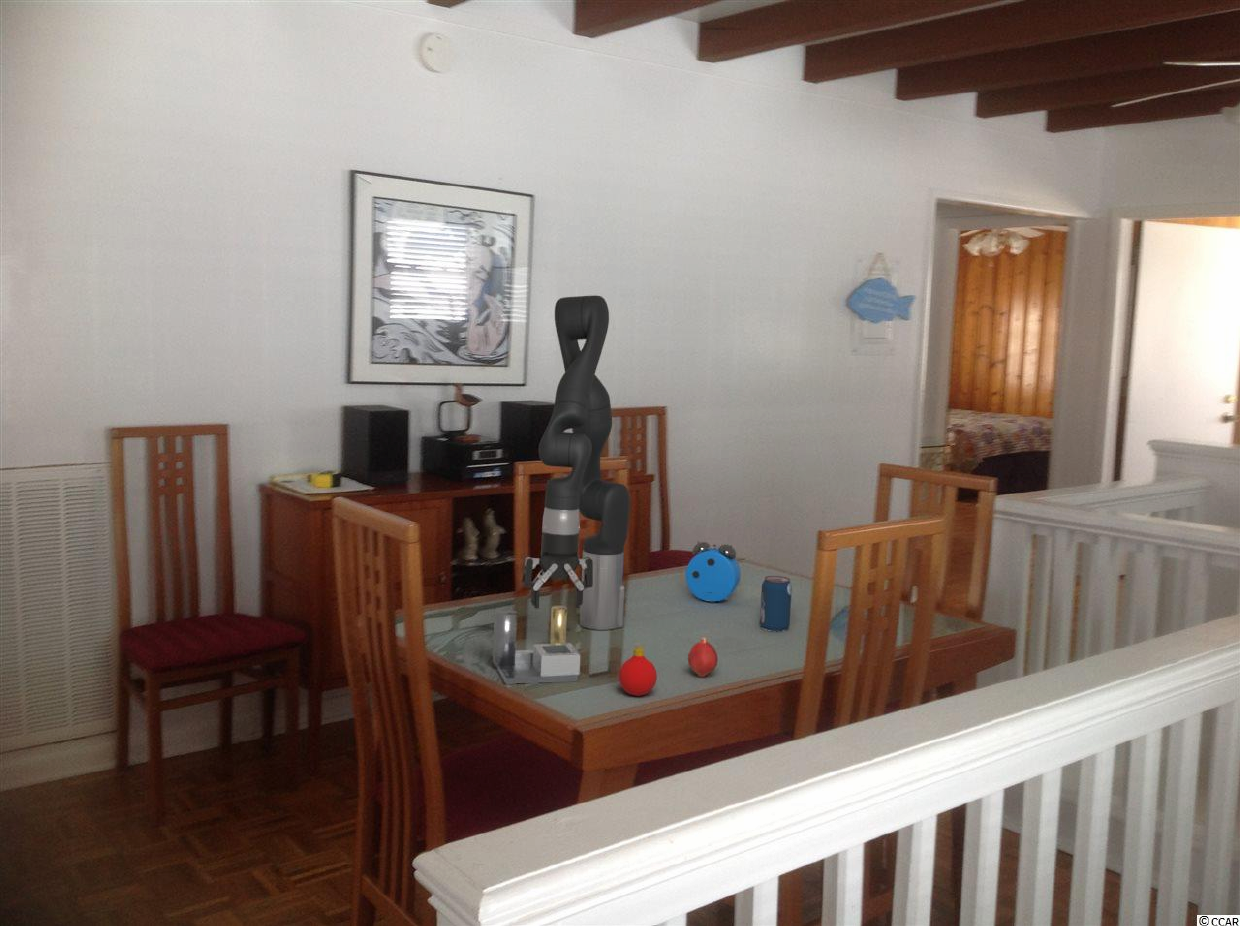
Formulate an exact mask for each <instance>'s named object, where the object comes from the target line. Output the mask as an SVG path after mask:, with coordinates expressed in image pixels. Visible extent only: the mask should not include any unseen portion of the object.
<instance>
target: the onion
mask: <svg viewBox="0 0 1240 926" xmlns="http://www.w3.org/2000/svg"><path fill="white" fill-rule="evenodd" d="M687 661H688V662H687V663H688V665H689V667H690V669H691V670H692V671H693V672H694V673H695V674H696V675H697V676H699V678H705V677H706V676H707V675H709V674H710V673H712V672H713V671H714V670H715V668H716V667H717V665H718V661H719V660H718V654H717V650H715V647H714V646H713V645H712V644H711V643H709V642H708V640H707V638H705V637H702V638H701V639H700V641H699V642H697V643H695V644H694V645H693V646H692V647H691V648H690V649H689V652H688V655H687Z"/></svg>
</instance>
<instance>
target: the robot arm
mask: <svg viewBox="0 0 1240 926" xmlns="http://www.w3.org/2000/svg"><path fill="white" fill-rule="evenodd" d="M609 311H610V309H609V307H608V303H607V301H606V300H605V298H604V297H603V296H601V295H582V296H565V297H561V298H559V299H558V300H557V301H556V303H555V306H554V322H555V323H554V324H555V328H556V329H555V330H556V334H557V339H558V344H559V349H560V353H561V358H562V363H563V367H564V368H563V369H564V373H563V374H562V376H561V378H560V379H559V382H558V385H557V387H556V393H555V399H554V405H553V412H552V415H551V417H550V420H549V422H548V425H547V426H546V429H545V431H544V433H543V434H542V437H541V439H540V442H539V444H538V455H539V459H540V461H541V462H542V463H543V464H544V465H545V466H549V467H561V468H572V469H571V472H570V473H569V475H566V476H562V477H561V476H560V477H554V478H550V479H548V480H547V482H546V485H545V497H544V511H543V516H542V527H541V528H542V529H541V530H542V531H541V546H540V547H541V548H540V556H539V557H537V558H535V557H530V556H526V557H524V566H523V573H522V584H523V586H524V587H525V588H528V589H530V604H531V606H533V608H534V609H540V590H539V589H540V588H541V587H542V586H543V585H544V583H546V582H547V580H548V579H551V580H558V579H560V580H567V579H568V578H569V580H571V581H572V583H573V584H574V587H575V588H574V595H573V596H574V597H573V606H574V608H575V609H580V613H579V625H580V626H581V627H583V628H585V629H589V630H598V631H599V630H600V631H605V630H606V631H607V630H613V629H614V630H615V629H618V628H623V627H624V626H623V625H624V623H623V622H624V606H625V585H623V571H624V569H623V568H624V567H623V566H624V550H625V549H624V548H625V544H626V541H627V538H628V531H629V521H630V520H629V519H630V511H631V496H630V493H629V490H628V488H627V486H626V485H625V484H623V483H619V482H615V481H609V480H608V481H607V480H603V476H602V470H601V456H602V453H603V449H604V447H605V445H606V443H607V441H608V440H609V436H610V434H611V431H612V428H613V413H612V406H611V398H610V394H609V393H608V390H607V389H606V387H605V386H604V385H603V383H602V382H601V380H600V379H599V378H598V377H597V375H596V370H597V367H598V364H599V362H600V358H601V354H602V353H603V348H604V345H605V341H606V338H607V336H608V330H609V326H610V325H609V323H610V312H609ZM579 340H581V341H582V340H585V342H584V344H583V347H582V349H581V348H580V345H579ZM567 430H572V432H565V431H567ZM580 513H581V515H582V516H583V517H584V519H585V518H586V519H588V520H592V521H597V522H600V526H599V527H600V528H599V531H598V532H597V533H596V534H592V535H589V536H586V537H585V538H584V540H583V543H582V544H583V545H582V558H579V539H580V538H579V537H580V535H579V534H580V529H581V525H580V523H581V522H580V521H581V519H580ZM537 565H539V566H540V568H541V570H540V571H539V572H538V574H537V575H536V576H535V578H534V579H533V581H532V576H533V575H532V574H533V569H536V566H537ZM579 565H580V566H581V569H582V570H581V579H580V578H579V577H578V575H577V574H576V573H575V571H576V569H577V568H578V567H579Z"/></svg>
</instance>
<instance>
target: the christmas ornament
mask: <svg viewBox="0 0 1240 926" xmlns="http://www.w3.org/2000/svg"><path fill="white" fill-rule="evenodd" d="M638 644H642V642H636V644H635V647H634V648H633V655H632V656H631V657H630V658H628V659H627V660H625V661H624V663H622V665H621V666H620V668H619V671H618V681H619V684H620V686H621V688H622V690H624V691H625V692H626V693H627V694H629V695H632V696H636V697H637V696H644V695H646V694H649V692H651V691H652V690H653V688H654V687H655V685H656V683H657V679H658V677H657V676H658V673H657V670H656V669H657V668H656V667H655V666H654V664H653V662H651V660H650V659H648V658H647V657H646V656H645V648H644V645H642V647H637V645H638Z"/></svg>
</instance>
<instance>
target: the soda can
mask: <svg viewBox="0 0 1240 926" xmlns="http://www.w3.org/2000/svg"><path fill="white" fill-rule="evenodd" d="M792 591H793V585H792V583H791V579H790V578H789V577H786V576H783V575H782V576H781V575H780V576H779V575H768V576H765V577H764V581H763V583H762V584H761V593H760V594H761V597H760V609H759V611H760V612H759V625H760V627H761V629H762V628H764V629H767V630H771V631H783V630H786V629H788V628H789V626H790V621H791V608H792V607H791V606H792V595H793V594H792V593H793V592H792ZM764 629H763V630H764ZM786 631H787V630H786Z"/></svg>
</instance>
